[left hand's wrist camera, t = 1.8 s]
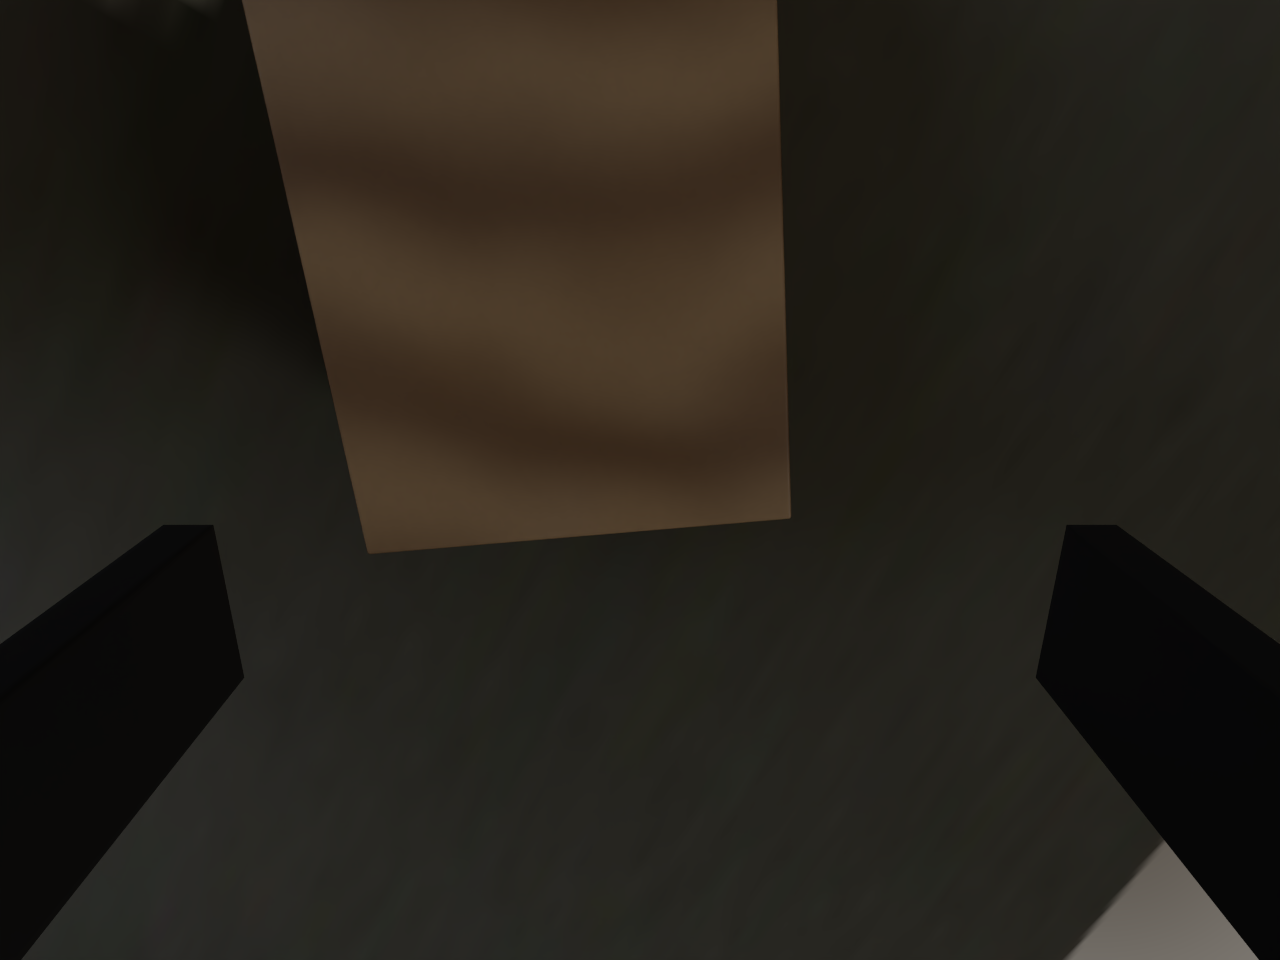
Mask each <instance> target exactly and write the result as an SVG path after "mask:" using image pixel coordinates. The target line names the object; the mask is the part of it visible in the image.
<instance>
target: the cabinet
mask: <svg viewBox="0 0 1280 960" xmlns="http://www.w3.org/2000/svg"><path fill="white" fill-rule="evenodd" d="M242 3H243V7H244V12H245V16H246V20H247V25H248V29H249V34H250V38H251V42H252V47H253V51H254V56H255V60H256V64H257V69H258V73H259V78H260V82H261V86H262V91H263V95H264V100H265V104H266V108H267V113H268V117H269V122H270V126H271V130H272V135H273V139H274V143H275V148H276V152H277V157H278V161H279V165H280V170H281V174H282V179H283V183H284V187H285V192H286V196H287V201H288V205H289V209H290V214H291V218H292V223H293V227H294V231H295V236H296V240H297V244H298V249H299V253H300V258H301V262H302V266H303V271H304V275H305V280H306V284H307V288H308V293H309V297H310V302H311V306H312V310H313V315H314V319H315V324H316V328H317V332H318V337H319V341H320V345H321V350H322V354H323V359H324V363H325V367H326V372H327V376H328V381H329V385H330V389H331V394H332V398H333V403H334V407H335V411H336V416H337V420H338V425H339V429H340V433H341V438H342V442H343V447H344V451H345V455H346V460H347V464H348V468H349V473H350V477H351V482H352V486H353V490H354V495H355V499H356V504H357V508H358V512H359V517H360V521H361V526H362V530H363V534H364V539H365V543H366V548H367V552H368V554H375V553H387V552H399V551H410V550H422V549H434V548H446V547H458V546H470V545H482V544H493V543H505V542H517V541H529V540H541V539H553V538H565V537H577V536H588V535H600V534H612V533H624V532H636V531H648V530H660V529H672V528H683V527H695V526H707V525H719V524H731V523H743V522H755V521H766V520H778V519H789V518H790V517H791V492H790V455H789V419H788V382H787V345H786V309H785V272H784V235H783V199H782V162H781V125H780V89H779V52H778V16H777V0H242Z"/></svg>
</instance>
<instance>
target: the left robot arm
mask: <svg viewBox="0 0 1280 960" xmlns="http://www.w3.org/2000/svg"><path fill="white" fill-rule="evenodd" d="M243 678H244V674H243V669H242V664H241V659H240V654H239V649H238V645H237V640H236V635H235V630H234V625H233V620H232V615H231V610H230V605H229V600H228V595H227V590H226V585H225V580H224V575H223V571H222V566H221V561H220V556H219V551H218V546H217V541H216V536H215V531H214V526H213V525H163V526H161V527H160V528H159V529H157V530H156V531H155V532H153V533H152V534H151V535H149V536H148V537H146V538H145V539H144V540H142V541H141V542H140V543H138V544H137V545H135V546H134V547H133V548H131V549H130V550H129V551H127V552H126V553H125V554H123V555H122V556H120V557H119V558H118V559H116V560H115V561H114V562H112V563H111V564H109V565H108V566H107V567H105V568H104V569H103V570H101V571H100V572H99V573H97V574H96V575H94V576H93V577H92V578H90V579H89V580H88V581H86V582H85V583H83V584H82V585H81V586H79V587H78V588H77V589H75V590H74V591H73V592H71V593H70V594H68V595H67V596H66V597H64V598H63V599H62V600H60V601H59V602H57V603H56V604H55V605H53V606H52V607H51V608H49V609H48V610H47V611H45V612H44V613H42V614H41V615H40V616H38V617H37V618H36V619H34V620H33V621H31V622H30V623H29V624H27V625H26V626H25V627H23V628H22V629H21V630H19V631H18V632H16V633H15V634H14V635H12V636H11V637H10V638H8V639H7V640H5V641H4V642H3V643H1V644H0V960H21V959H22V958H23V957H24V955H25V954H26V953H27V952H28V950H29V949H30V948H31V946H32V945H33V944H34V943H35V941H36V940H37V939H38V938H39V936H40V935H41V934H42V933H43V931H44V930H45V929H46V927H47V926H48V925H49V924H50V922H51V921H52V920H53V919H54V917H55V916H56V915H57V914H58V912H59V911H60V910H61V909H62V907H63V906H64V905H65V903H66V902H67V901H68V900H69V898H70V897H71V896H72V895H73V893H74V892H75V891H76V890H77V888H78V887H79V886H80V884H81V883H82V882H83V881H84V879H85V878H86V877H87V876H88V874H89V873H90V872H91V871H92V869H93V868H94V867H95V865H96V864H97V863H98V862H99V860H100V859H101V858H102V857H103V855H104V854H105V853H106V852H107V850H108V849H109V848H110V847H111V845H112V844H113V843H114V841H115V840H116V839H117V838H118V836H119V835H120V834H121V833H122V831H123V830H124V829H125V828H126V826H127V825H128V824H129V822H130V821H131V820H132V819H133V817H134V816H135V815H136V814H137V812H138V811H139V810H140V809H141V807H142V806H143V805H144V804H145V802H146V801H147V800H148V798H149V797H150V796H151V795H152V793H153V792H154V791H155V790H156V788H157V787H158V786H159V785H160V783H161V782H162V781H163V779H164V778H165V777H166V776H167V774H168V773H169V772H170V771H171V769H172V768H173V767H174V766H175V764H176V763H177V762H178V761H179V759H180V758H181V757H182V755H183V754H184V753H185V752H186V750H187V749H188V748H189V747H190V745H191V744H192V743H193V742H194V740H195V739H196V738H197V736H198V735H199V734H200V733H201V731H202V730H203V729H204V728H205V726H206V725H207V724H208V723H209V721H210V720H211V719H212V718H213V716H214V715H215V714H216V712H217V711H218V710H219V709H220V707H221V706H222V705H223V704H224V702H225V701H226V700H227V699H228V697H229V696H230V695H231V693H232V692H233V691H234V690H235V688H236V687H237V686H238V685H239V683H240V682H241V681H242V680H243ZM1036 678H1037V680H1038V681H1039V682H1040V683H1041V685H1042V686H1043V687H1044V688H1045V690H1046V691H1047V692H1048V693H1049V695H1050V696H1051V697H1052V699H1053V700H1054V701H1055V702H1056V704H1057V705H1058V706H1059V707H1060V709H1061V710H1062V711H1063V712H1064V714H1065V715H1066V716H1067V718H1068V719H1069V720H1070V721H1071V723H1072V724H1073V725H1074V726H1075V728H1076V729H1077V730H1078V731H1079V733H1080V734H1081V735H1082V736H1083V738H1084V739H1085V740H1086V742H1087V743H1088V744H1089V745H1090V747H1091V748H1092V749H1093V750H1094V752H1095V753H1096V754H1097V755H1098V757H1099V758H1100V759H1101V761H1102V762H1103V763H1104V764H1105V766H1106V767H1107V768H1108V769H1109V771H1110V772H1111V773H1112V774H1113V776H1114V777H1115V778H1116V779H1117V781H1118V782H1119V783H1120V785H1121V786H1122V787H1123V788H1124V790H1125V791H1126V792H1127V793H1128V795H1129V796H1130V797H1131V798H1132V800H1133V801H1134V802H1135V804H1136V805H1137V806H1138V807H1139V809H1140V810H1141V811H1142V812H1143V814H1144V815H1145V816H1146V817H1147V819H1148V820H1149V821H1150V822H1151V824H1152V825H1153V826H1154V828H1155V829H1156V830H1157V831H1158V833H1159V834H1160V835H1161V836H1162V838H1163V839H1164V840H1165V841H1166V843H1167V844H1168V845H1169V847H1170V848H1171V849H1172V850H1173V852H1174V853H1175V854H1176V855H1177V857H1178V858H1179V859H1180V860H1181V862H1182V863H1183V864H1184V865H1185V867H1186V868H1187V869H1188V871H1189V872H1190V873H1191V874H1192V876H1193V877H1194V878H1195V879H1196V881H1197V882H1198V883H1199V884H1200V886H1201V887H1202V888H1203V890H1204V891H1205V892H1206V893H1207V895H1208V896H1209V897H1210V898H1211V900H1212V901H1213V902H1214V903H1215V905H1216V906H1217V907H1218V908H1219V910H1220V911H1221V912H1222V914H1223V915H1224V916H1225V917H1226V919H1227V920H1228V921H1229V922H1230V924H1231V925H1232V926H1233V927H1234V929H1235V930H1236V931H1237V932H1238V934H1239V935H1240V936H1241V938H1242V939H1243V940H1244V941H1245V943H1246V944H1247V945H1248V946H1249V948H1250V949H1251V950H1252V951H1253V953H1254V954H1255V955H1256V956H1257V958H1258V959H1259V960H1280V644H1279V643H1277V642H1276V641H1275V640H1273V639H1272V638H1270V637H1269V636H1268V635H1266V634H1265V633H1264V632H1262V631H1261V630H1259V629H1258V628H1257V627H1255V626H1254V625H1253V624H1251V623H1250V622H1249V621H1247V620H1246V619H1244V618H1243V617H1242V616H1240V615H1239V614H1238V613H1236V612H1235V611H1233V610H1232V609H1231V608H1229V607H1228V606H1227V605H1225V604H1224V603H1223V602H1221V601H1220V600H1218V599H1217V598H1216V597H1214V596H1213V595H1212V594H1210V593H1209V592H1207V591H1206V590H1205V589H1203V588H1202V587H1201V586H1199V585H1198V584H1197V583H1195V582H1194V581H1192V580H1191V579H1190V578H1188V577H1187V576H1186V575H1184V574H1183V573H1181V572H1180V571H1179V570H1177V569H1176V568H1175V567H1173V566H1172V565H1171V564H1169V563H1168V562H1166V561H1165V560H1164V559H1162V558H1161V557H1160V556H1158V555H1157V554H1155V553H1154V552H1153V551H1151V550H1150V549H1149V548H1147V547H1146V546H1145V545H1143V544H1142V543H1140V542H1139V541H1138V540H1136V539H1135V538H1134V537H1132V536H1131V535H1129V534H1128V533H1127V532H1125V531H1124V530H1123V529H1121V528H1120V527H1119V526H1117V525H1067V526H1066V531H1065V536H1064V541H1063V546H1062V551H1061V556H1060V561H1059V566H1058V571H1057V575H1056V580H1055V585H1054V590H1053V595H1052V600H1051V605H1050V610H1049V615H1048V620H1047V625H1046V630H1045V635H1044V640H1043V645H1042V649H1041V654H1040V659H1039V664H1038V669H1037V674H1036Z"/></svg>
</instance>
